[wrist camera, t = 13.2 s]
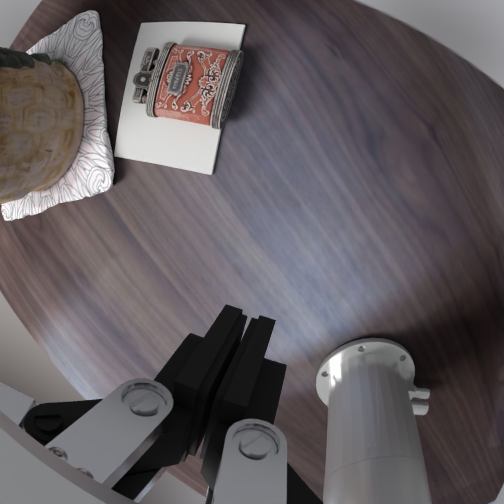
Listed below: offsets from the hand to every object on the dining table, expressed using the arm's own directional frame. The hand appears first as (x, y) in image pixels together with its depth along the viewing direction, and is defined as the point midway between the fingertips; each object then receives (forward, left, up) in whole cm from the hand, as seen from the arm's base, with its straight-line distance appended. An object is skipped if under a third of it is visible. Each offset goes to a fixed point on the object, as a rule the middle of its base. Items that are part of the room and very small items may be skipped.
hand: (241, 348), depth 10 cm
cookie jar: (+35, -5, -22) cm, 42 cm away
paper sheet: (+15, -10, -22) cm, 28 cm away
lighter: (+8, -10, -20) cm, 24 cm away
